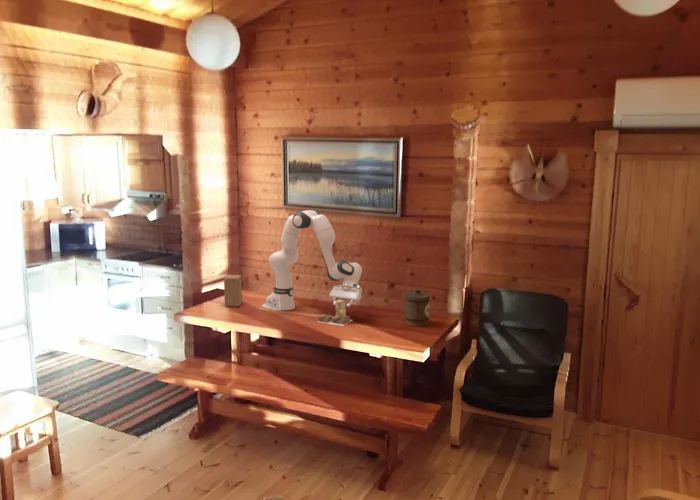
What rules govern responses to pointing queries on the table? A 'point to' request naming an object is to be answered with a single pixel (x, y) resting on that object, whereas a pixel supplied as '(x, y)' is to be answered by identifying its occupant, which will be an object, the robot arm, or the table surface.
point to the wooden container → (417, 308)
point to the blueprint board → (335, 323)
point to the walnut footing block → (325, 318)
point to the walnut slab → (340, 320)
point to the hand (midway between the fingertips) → (341, 305)
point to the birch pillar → (340, 308)
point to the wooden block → (233, 290)
